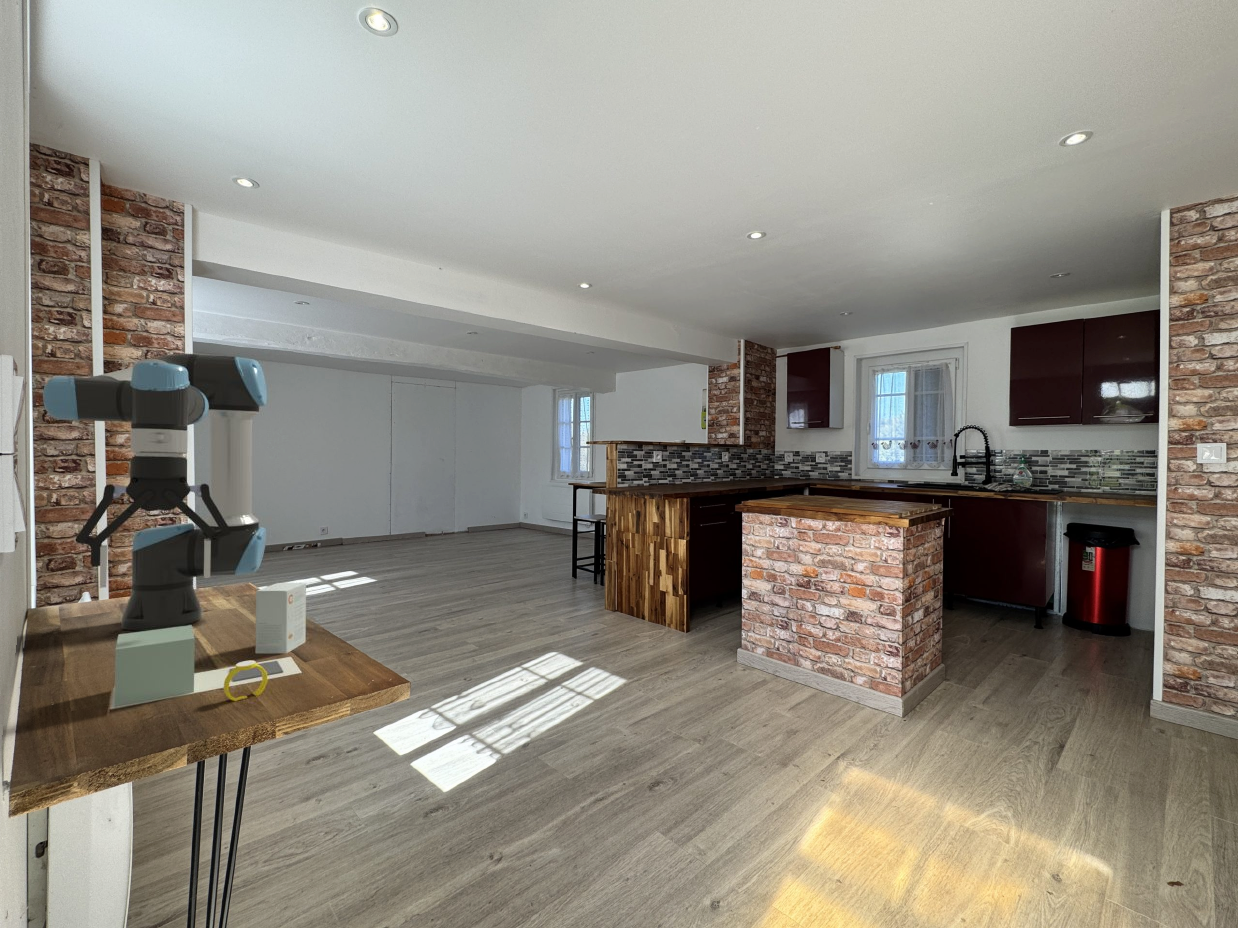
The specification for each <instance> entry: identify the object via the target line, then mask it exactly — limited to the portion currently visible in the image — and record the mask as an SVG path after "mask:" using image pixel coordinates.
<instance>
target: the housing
mask: <svg viewBox="0 0 1238 928" xmlns="http://www.w3.org/2000/svg"><path fill="white" fill-rule="evenodd" d="M195 646H196V637H195V634H194V628H193V625H192V624H187V625H181V626H176V627H171V628H164V629H155V630H141V631H136V632H128V633H120V634H118V636H117V640H116V645H115V653H114V654H115V655H114V656H115V657H114V658H115V659H114V660H115V662H114V663H115V664H114V687H115V706H114V707H118V706H124V705H129V704H134V703H139V702H145V701H150V700H155V699H161V698H166V697H171V696H176V695H182V694H187V693H192V692H194V673H195V655H196V654H195V653H196V652H195V649H196V647H195Z"/></svg>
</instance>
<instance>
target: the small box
mask: <svg viewBox="0 0 1238 928" xmlns="http://www.w3.org/2000/svg"><path fill="white" fill-rule="evenodd" d="M306 613H307V583H306V582H277V583H274V584H272V585H269V586H266V587H263V588H261V589H257V590H256V591H255V651H254V652H255V654H288V653H289V652H291V651H293V650H295V649H296V648H298V647H299V646H301V645H303V644H305V643H306V641H307V640H306V635H307V633H306V632H307V631H306V627H307V626H306V624H307V623H306V622H307V621H306V617H307V616H306V615H307V614H306Z"/></svg>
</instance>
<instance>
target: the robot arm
mask: <svg viewBox="0 0 1238 928" xmlns="http://www.w3.org/2000/svg"><path fill="white" fill-rule="evenodd" d="M42 391H43V392H42V400H43V401H42V402H43V406H44V409H45V411H46V412H47V414H48V415H49V416H50V417H52V418H54V419H56V420H64V421H65V420H67V421H74V422H81V421H83V422H84V421H85V422H87V421H88V422H120V423H122V422H123V423H131V425H130V452H131V453H132V454H133V453H134V456H131V458H130V461H129V462H130V463H129V464H130V466H129V468H130V469H129V476H130V477H129V483H128V485H126V486H125V485H115V484H112V483H109V484H107V485H105V487H104V490H103V495H102V499H101V501H99V504H98V505H97V506H96V508H95V509H94V510H93V512H92V513H91V515H90V517H89V518H88V520H86V523H85V524H84V525H83V527H82V528H81V529H80V531H79V533H78V534H77V535H76V537H75V542H76V543H77V544H83V545H87V546H88V547H90V565H91V567H92V568H94V567H99V588H100V589H101V588H107V585H108V559H109V550H108V549H109V546H108V545H109V544H103V543H104V542H105V541H106V540H107V539H108V538H110V536H111V535H112V534H114V533H115V532H116V531H117V530H118V529H119V528H120V527H121V526H122V525H123V524H124V523H125V522H126V521H128V520H129V519H130V518H131V517H132V516H133V515H134V514H135V513H136V512H138V511H139V509H141V510H142V511H145V512H154V511H158V510H159V511H164V512H165V511H167V512H168V511H173V510H174V509H176V508H177V509H178V510H179V511H181V513H183V514H184V515H185V516H186V517H187V518H188V519H189V520H190V521H192V522H191V523H190V522H188V523H178V524H172V525H171V524H169V525H163V526H157V527H151V528H145V529H142V530H139V531H137V532H136V533H135V534H134V535H133V538H132V540H133V541H132V549H131V551H130V552H131V555H132V557H131V559H132V560H131V563H132V564H131V565H132V567H131V594H130V597H129V599H128V601H127V603H126V606H125V608H124V611H123V614H122V616H121V621H120V622H121V624H120V627H121V629H123V630H128V631H150V630H157V629H165V628H173V627H180V626H186V625H190V624H192V623H195V622H197V621H199V620H201V619H202V612H203V611H202V607H201V604H200V601H199V599H198V597H197V593H196V591H195V588H194V578H200V577H202V578H203V577H204V579H210V578H211V577H218V576H220V577H221V576H223V577H224V576H236V577H237V576H239V575H240V576H241V575H250V574H254V573H256V572H258V570H259V568H260V567H261V563H262V561H263V557H264V554H265V549H266V542H267V529H266V528H265V527H262V526H260V523H259V522H260V521H259V520H260V519H258V518H257V517H256V516H255V515H254V514H253V507H252V506H253V504H252V502H253V501H252V500H253V499H252V497H253V496H252V495H253V490H252V489H253V486H252V485H253V419H254V418H255V417H256V416H258V414H260V407H265V406H266V405H267V401H268V398H267V397H268V393H267V391H268V390H267V384H266V378H265V374H264V371H263V368H262V366H261V364H260V363H259V361H258V360H255V359H253V358H248V357H241V356H226V355H213V354H212V355H210V354H209V355H208V354H195V353H173V354H167V355H160V356H155V357H149V358H146V359H141V360H139V361H137V362H135V363H134V364H133V365H132V366H131V367H127V368H124V369H121V370H116V371H112V372H108V373H103V374H99V375H95V376H94V375H93V376H89V377H88V376H87V377H75V376H71V375H70V376H54V377H51V378H50V379H48V380H47V382H46V383H45V385H44V388H43V390H42ZM206 416H208V417H209V418H210V426H209V427H210V428H209V429H210V440H209V442H210V446H209V448H210V451H209V452H210V455H209V458H210V460H209V461H210V467H209V468H210V470H209V471H210V474H209V475H210V477H209V479H210V482H209V483H210V486H209V484H208V483H200V484H195V485H194V484H193V485H189V483H188V459H187V458H186V456H185V457H184V455H185V454H187V453H188V437H189V434H188V432H189V430H188V426H190V425H195V424H197V423H199V422H201V421H202V420H203V419H204V418H205V417H206ZM190 492H193V493H194V494H195V496H197V497H198V498H201V500H202V502H203V503H204V506H205V507H206V508H207V510H208V512H209V513H210V514H209V516H208V517H207V518H206V519H205V520H204V519H202V517H200V515H199V514H197V512H195V511H194V510H193V509H192V508H191V507H190V506H189V505H188V504H186V502H184V499H185V498H186V497H188V495H189V494H190ZM125 493H126V495H127V496H128V497H129V498H130V499H131V500H132V501H133V502H132V503H131V504H130V505H129V506H128V507H127V508H126V509H124V511H122V512H121V513H120V514H119V515H118V516H117V517H116V518H115V519H113V521H111V522H110V523H109V524H108V525H106V527H105V528H103V529H102V530H101V531H100V532H99V533H98V534H97V535H96V536H91V534H92V532H93V530H95V528H96V526H97V525H98V523H99V522H100V520H101V519H102V517H103V516H104V514H105V513H106V511H107V510H108V508H109V507H110V506H111V503H112V502H113V501H114V500H113V499H118V498H119V497H121V495H122V494H125ZM195 525H196V526H197V527H198V528H196V526H195Z"/></svg>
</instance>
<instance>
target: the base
mask: <svg viewBox="0 0 1238 928" xmlns="http://www.w3.org/2000/svg"><path fill="white" fill-rule="evenodd" d="M256 664H257V665H260V666H261V667H263V668H264V670H265V671H266V672H267V680H272V679H277V678H282V677H287V676H292V675H297V674H302V673H303V672H302V671H301V669H300V668H299V666H298V665H297V664H296V662H295V660H294V659H293V658H292V656H287V657H282V658H276V659H269V660H264V661H258V662H256ZM234 668H236V665H235V666H230V667H223V668H219V669H213V670H205V671H201V672H194V692H192V693H187V694H182V695H176V696H171V697H166V698H161V699H155V700H150V701H145V702H139V703H134V704H129V705H124V706H118V707H114V706H115V686H114V687H113V690H112V695H111V701H110V707H109V710H114V709H120V708H124V707H129V706H134V705H140V704H145V703H150V702H151V703H152V702H156V701H161V700H168V699H171V698H177V697H182V696H186V695H193V694H198V693H202V692H209V691H213V690H219V689H223V688H224V681H225V679H226V677H227V676H228V674H229V673H230V671H232V670H233V669H234ZM256 682H262V672H261V671H260V669H259V668H256V667H254V668H251V669H248V670H240V671H239V672H237V673H236V674H235V675H234V676H233V678H232V679H231V681H230V683H229V688H230V687H235V686H239V685H245V684H249V683H256Z"/></svg>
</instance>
